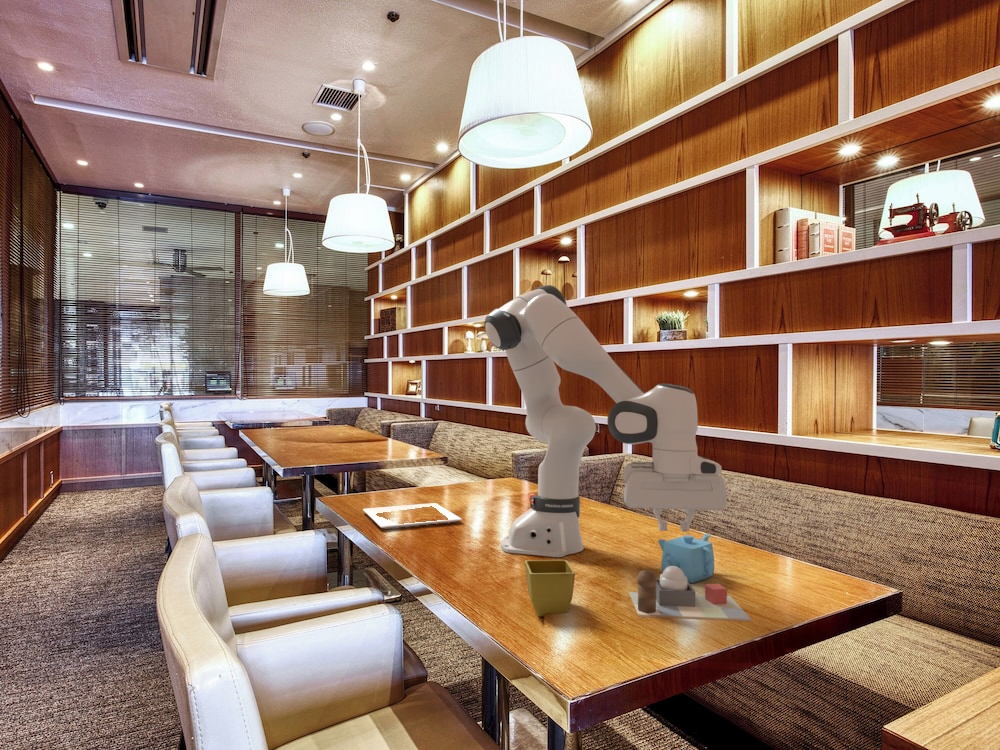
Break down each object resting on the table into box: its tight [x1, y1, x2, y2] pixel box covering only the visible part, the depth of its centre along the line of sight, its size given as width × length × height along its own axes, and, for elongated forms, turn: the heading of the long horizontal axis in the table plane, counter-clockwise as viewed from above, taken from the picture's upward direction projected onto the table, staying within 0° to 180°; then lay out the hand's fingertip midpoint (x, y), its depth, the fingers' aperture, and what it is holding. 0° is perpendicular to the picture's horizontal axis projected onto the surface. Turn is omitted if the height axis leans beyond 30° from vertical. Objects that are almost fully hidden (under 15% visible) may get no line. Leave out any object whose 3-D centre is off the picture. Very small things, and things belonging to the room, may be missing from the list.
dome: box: [659, 566, 687, 591], centre depth 118 cm, size 5×5×5 cm
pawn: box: [636, 569, 658, 613], centre depth 113 cm, size 4×4×8 cm
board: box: [628, 578, 754, 622], centre depth 115 cm, size 21×13×4 cm, turn 86°
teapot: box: [657, 533, 715, 584], centre depth 134 cm, size 18×14×10 cm
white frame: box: [362, 502, 463, 530], centre depth 190 cm, size 26×26×2 cm
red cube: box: [704, 583, 728, 605], centre depth 118 cm, size 3×3×3 cm
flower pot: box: [524, 559, 576, 617], centre depth 114 cm, size 9×9×9 cm
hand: (673, 530), depth 119 cm, fingers open, 3 cm apart
